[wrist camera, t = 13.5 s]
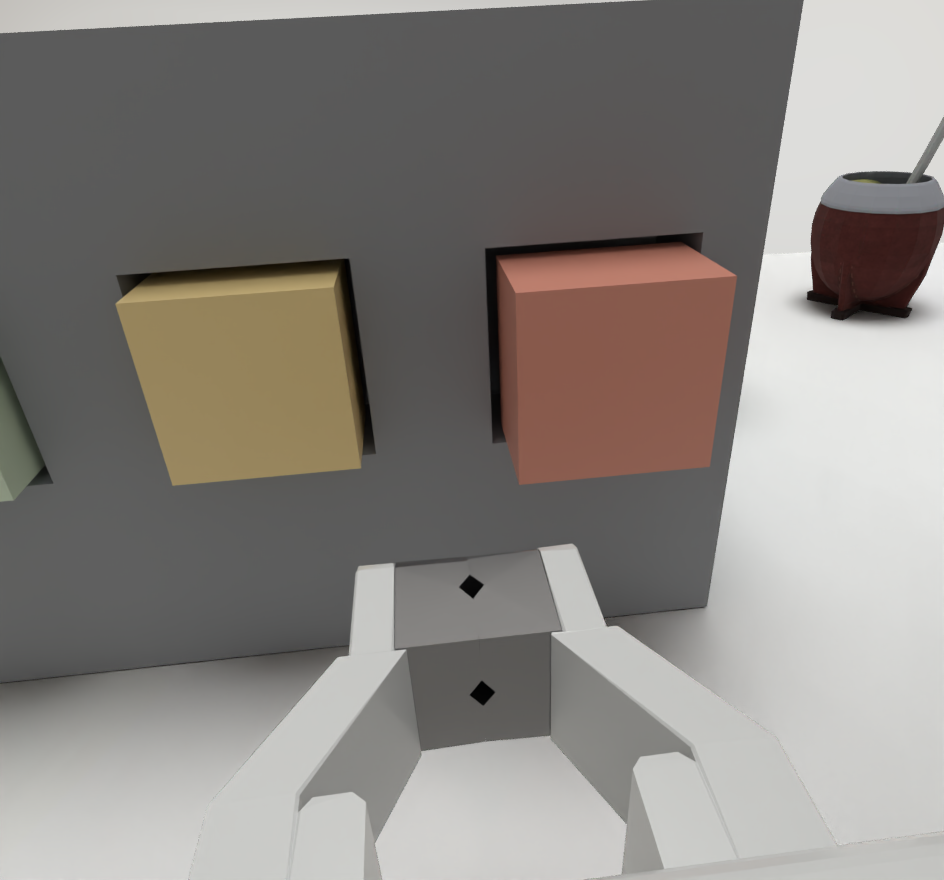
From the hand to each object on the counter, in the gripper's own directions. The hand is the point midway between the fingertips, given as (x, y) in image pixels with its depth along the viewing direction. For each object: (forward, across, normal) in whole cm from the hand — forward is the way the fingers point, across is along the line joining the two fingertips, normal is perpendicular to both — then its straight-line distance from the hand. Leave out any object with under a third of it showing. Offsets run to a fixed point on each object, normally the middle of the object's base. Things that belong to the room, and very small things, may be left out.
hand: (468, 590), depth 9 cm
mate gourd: (+33, -29, +9) cm, 45 cm away
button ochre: (+8, +4, +2) cm, 9 cm away
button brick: (+7, -4, +2) cm, 8 cm away
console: (+12, +4, +9) cm, 15 cm away
